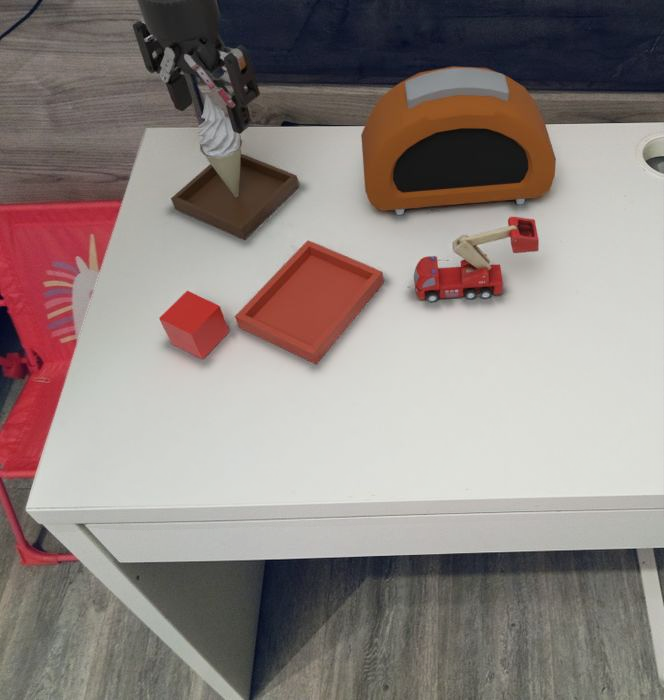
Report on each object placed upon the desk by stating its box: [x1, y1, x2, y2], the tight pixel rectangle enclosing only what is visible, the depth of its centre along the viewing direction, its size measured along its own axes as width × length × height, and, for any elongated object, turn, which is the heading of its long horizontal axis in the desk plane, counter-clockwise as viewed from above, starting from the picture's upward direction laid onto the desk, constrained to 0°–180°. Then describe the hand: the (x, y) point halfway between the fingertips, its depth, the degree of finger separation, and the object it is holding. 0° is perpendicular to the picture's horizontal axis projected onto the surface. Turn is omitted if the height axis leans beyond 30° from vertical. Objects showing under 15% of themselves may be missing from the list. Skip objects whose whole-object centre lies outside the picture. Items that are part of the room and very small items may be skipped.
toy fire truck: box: [413, 216, 540, 303], centre depth 86 cm, size 3×14×10 cm, turn 95°
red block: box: [158, 290, 230, 360], centre depth 84 cm, size 4×4×4 cm
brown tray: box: [170, 153, 300, 241], centre depth 98 cm, size 11×11×2 cm
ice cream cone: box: [196, 93, 243, 197], centre depth 93 cm, size 5×5×15 cm
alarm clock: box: [360, 66, 557, 216], centre depth 94 cm, size 23×9×17 cm, turn 97°
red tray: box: [234, 239, 385, 365], centre depth 88 cm, size 14×11×2 cm
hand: (213, 117), depth 89 cm, fingers open, 8 cm apart
